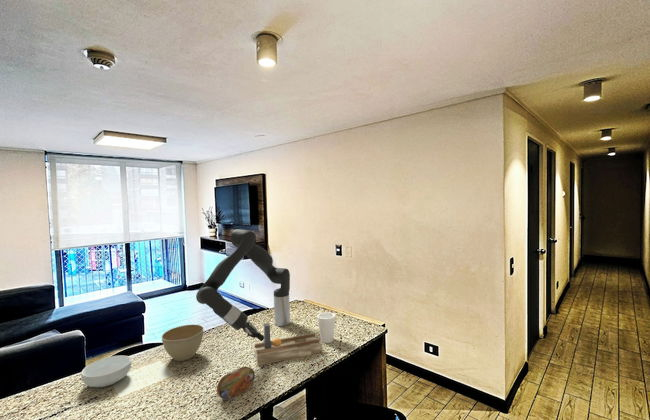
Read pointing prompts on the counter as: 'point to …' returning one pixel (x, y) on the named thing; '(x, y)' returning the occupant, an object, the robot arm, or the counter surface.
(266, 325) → the plunger
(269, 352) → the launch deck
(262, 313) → the counter surface
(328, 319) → the foam cup
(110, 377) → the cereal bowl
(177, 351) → the deep beige bowl
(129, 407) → the counter surface
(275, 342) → the ball
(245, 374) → the tin
